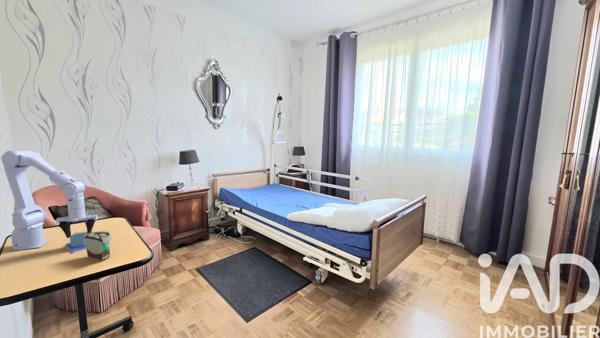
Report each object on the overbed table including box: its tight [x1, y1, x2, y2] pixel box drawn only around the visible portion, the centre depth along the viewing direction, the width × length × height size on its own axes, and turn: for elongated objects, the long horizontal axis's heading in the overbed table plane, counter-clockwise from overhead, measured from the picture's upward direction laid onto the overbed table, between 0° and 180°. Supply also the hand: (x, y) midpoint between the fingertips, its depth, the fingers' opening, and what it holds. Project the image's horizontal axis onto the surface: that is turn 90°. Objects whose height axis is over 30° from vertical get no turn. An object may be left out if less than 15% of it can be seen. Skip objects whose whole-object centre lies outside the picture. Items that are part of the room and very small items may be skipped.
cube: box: [69, 231, 87, 247], centre depth 115 cm, size 5×5×5 cm
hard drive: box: [65, 242, 87, 254], centre depth 116 cm, size 2×8×12 cm
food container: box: [84, 230, 113, 262], centre depth 107 cm, size 12×6×10 cm, turn 71°
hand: (79, 236), depth 115 cm, fingers open, 7 cm apart
